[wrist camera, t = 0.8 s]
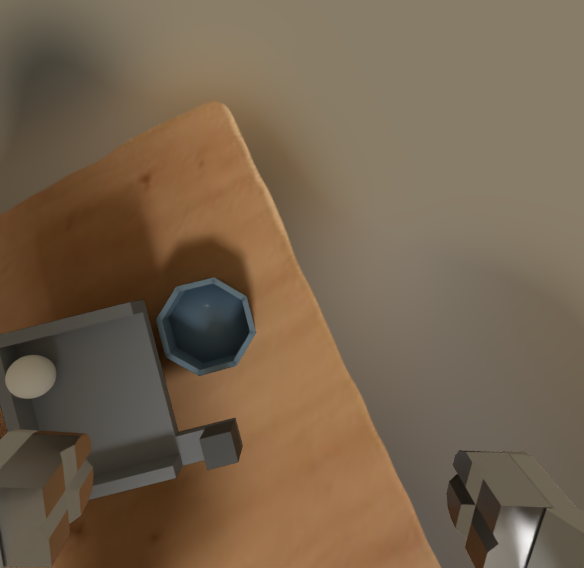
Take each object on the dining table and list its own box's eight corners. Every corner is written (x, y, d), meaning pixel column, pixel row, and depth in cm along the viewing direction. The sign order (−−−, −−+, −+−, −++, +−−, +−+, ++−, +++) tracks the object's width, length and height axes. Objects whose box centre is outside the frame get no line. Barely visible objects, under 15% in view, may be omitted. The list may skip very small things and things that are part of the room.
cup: (260, 351, 50) (262, 358, 45) (179, 373, 49) (172, 383, 44) (240, 272, 49) (240, 270, 44) (158, 292, 48) (148, 293, 43)
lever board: (242, 445, 41) (238, 462, 37) (53, 493, 41) (30, 514, 37) (201, 285, 40) (193, 286, 37) (9, 333, 40) (-18, 339, 36)
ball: (69, 385, 39) (43, 399, 35) (31, 395, 39) (0, 409, 35) (59, 346, 39) (31, 355, 35) (21, 356, 39) (-12, 365, 35)
